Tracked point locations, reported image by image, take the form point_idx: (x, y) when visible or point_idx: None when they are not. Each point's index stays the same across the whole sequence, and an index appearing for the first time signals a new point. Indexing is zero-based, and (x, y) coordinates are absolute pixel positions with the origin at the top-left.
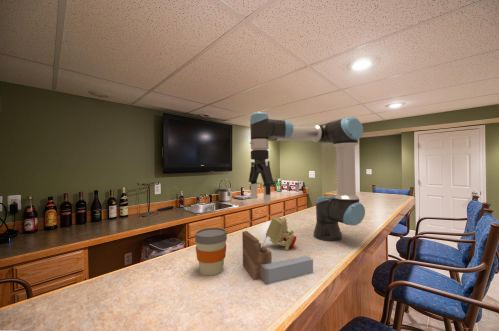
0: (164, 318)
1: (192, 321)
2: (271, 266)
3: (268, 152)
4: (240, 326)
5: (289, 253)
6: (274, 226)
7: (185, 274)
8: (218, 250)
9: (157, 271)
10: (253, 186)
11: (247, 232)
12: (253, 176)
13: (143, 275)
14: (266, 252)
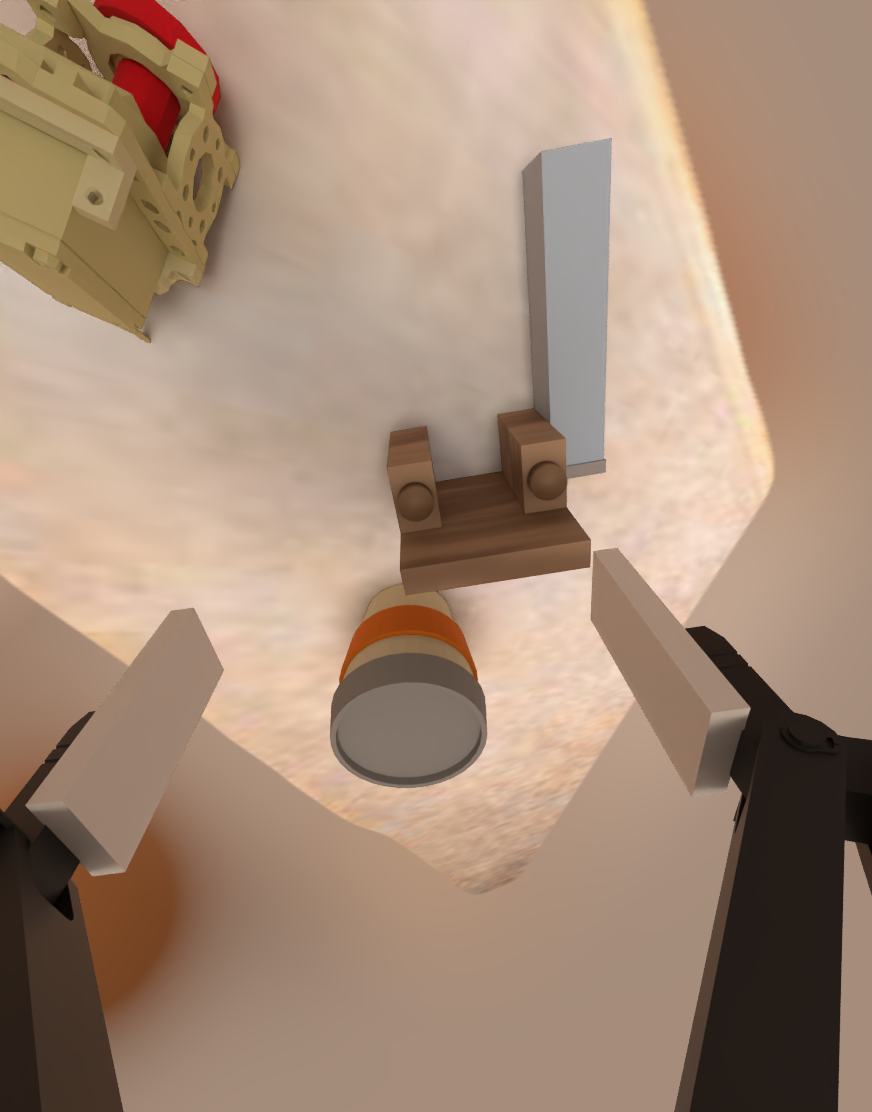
0: (610, 702)
1: None
2: (584, 436)
3: None
4: (722, 564)
5: (294, 180)
6: (106, 247)
7: None
8: (469, 661)
9: None
10: (131, 801)
11: (431, 571)
12: (116, 1088)
13: None
14: (564, 466)
